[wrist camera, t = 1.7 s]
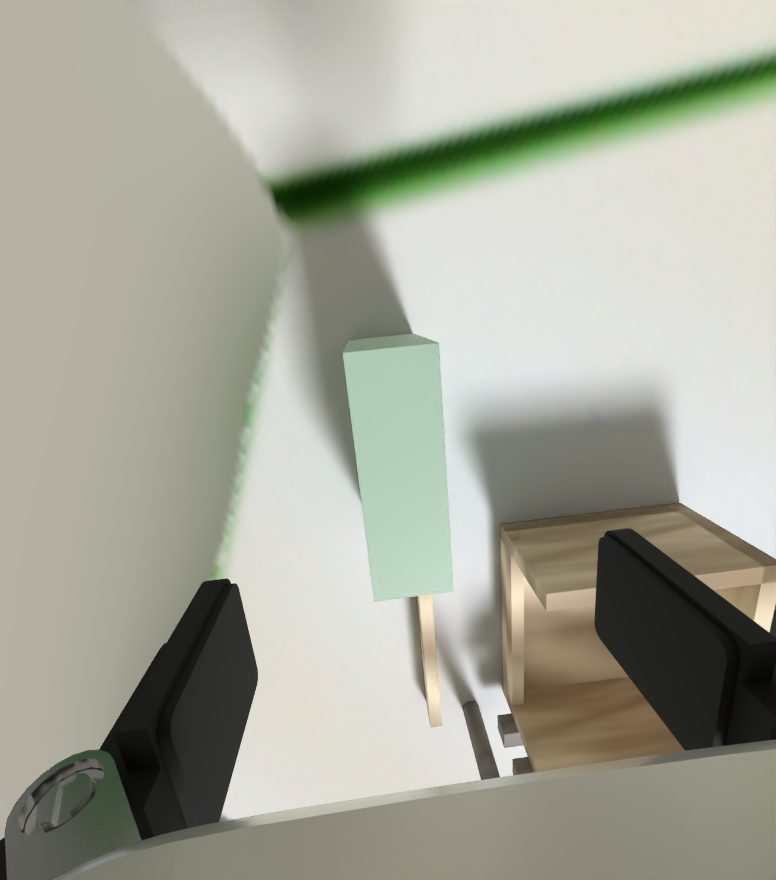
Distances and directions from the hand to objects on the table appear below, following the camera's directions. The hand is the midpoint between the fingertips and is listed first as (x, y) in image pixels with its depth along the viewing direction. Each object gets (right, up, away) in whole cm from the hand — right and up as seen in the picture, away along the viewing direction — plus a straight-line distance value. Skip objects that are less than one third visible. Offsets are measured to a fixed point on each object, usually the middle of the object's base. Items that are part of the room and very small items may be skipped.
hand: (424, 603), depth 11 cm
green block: (-1, +5, +14) cm, 15 cm away
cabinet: (+10, -8, +19) cm, 23 cm away
